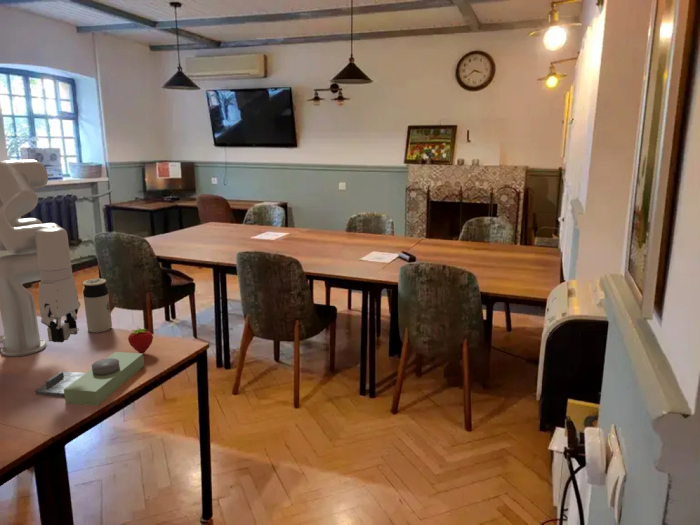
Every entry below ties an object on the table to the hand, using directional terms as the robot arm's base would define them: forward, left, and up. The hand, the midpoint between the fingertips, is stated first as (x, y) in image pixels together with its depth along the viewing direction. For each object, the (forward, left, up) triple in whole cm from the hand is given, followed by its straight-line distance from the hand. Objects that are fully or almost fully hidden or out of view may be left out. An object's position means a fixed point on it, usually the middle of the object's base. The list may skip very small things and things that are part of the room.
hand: (65, 337), depth 142 cm
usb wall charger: (0, 0, -1) cm, 1 cm away
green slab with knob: (+9, +3, -15) cm, 17 cm away
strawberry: (+9, +23, -15) cm, 29 cm away
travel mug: (-17, +41, -15) cm, 47 cm away
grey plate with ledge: (0, 0, -15) cm, 15 cm away
